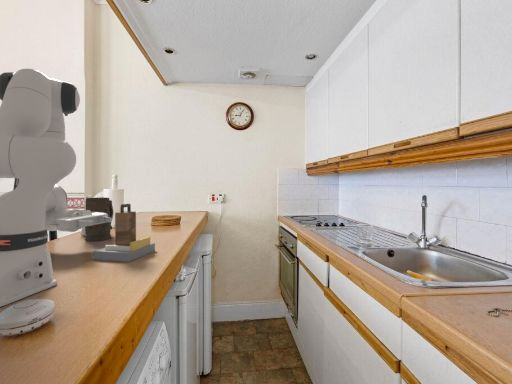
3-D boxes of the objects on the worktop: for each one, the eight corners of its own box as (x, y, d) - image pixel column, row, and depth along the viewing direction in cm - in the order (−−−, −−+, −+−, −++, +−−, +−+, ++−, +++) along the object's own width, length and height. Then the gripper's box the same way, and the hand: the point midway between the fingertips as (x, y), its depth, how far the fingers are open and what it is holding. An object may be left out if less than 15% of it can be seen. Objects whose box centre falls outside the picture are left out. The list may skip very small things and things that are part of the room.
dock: (93, 259, 99) (93, 242, 99) (123, 248, 115) (123, 234, 115) (129, 261, 97) (129, 244, 96) (154, 250, 112) (154, 235, 112)
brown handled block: (127, 248, 103) (127, 204, 102) (115, 248, 104) (115, 204, 103) (136, 245, 108) (135, 203, 107) (124, 245, 109) (124, 203, 108)
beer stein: (102, 241, 128) (103, 197, 129) (78, 241, 128) (80, 197, 129) (119, 237, 143) (120, 197, 144) (98, 237, 144) (99, 197, 144)
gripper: (45, 215, 100) (79, 216, 97) (90, 209, 120) (119, 210, 117) (46, 233, 100) (79, 234, 97) (90, 224, 120) (119, 225, 118)
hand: (101, 221), depth 108 cm, fingers open, 8 cm apart
